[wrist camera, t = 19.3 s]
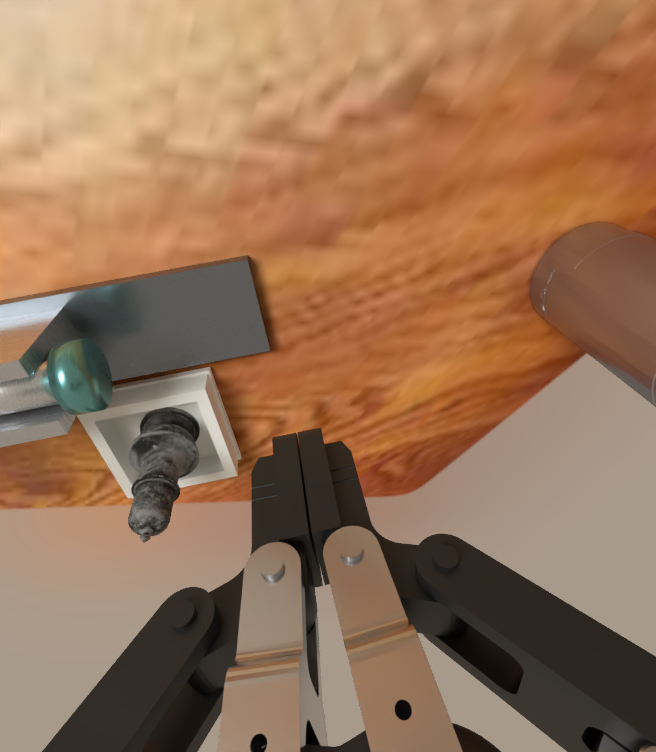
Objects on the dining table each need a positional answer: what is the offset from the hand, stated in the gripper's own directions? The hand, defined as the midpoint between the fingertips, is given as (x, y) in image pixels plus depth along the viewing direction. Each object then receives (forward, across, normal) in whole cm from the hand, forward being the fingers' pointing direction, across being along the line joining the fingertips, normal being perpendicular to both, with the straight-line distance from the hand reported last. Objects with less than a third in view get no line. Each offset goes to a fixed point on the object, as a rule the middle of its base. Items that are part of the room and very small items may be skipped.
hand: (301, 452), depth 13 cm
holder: (+23, +13, +16) cm, 31 cm away
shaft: (+19, +20, +5) cm, 28 cm away
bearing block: (+23, +13, +5) cm, 27 cm away
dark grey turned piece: (+23, +13, +16) cm, 30 cm away
